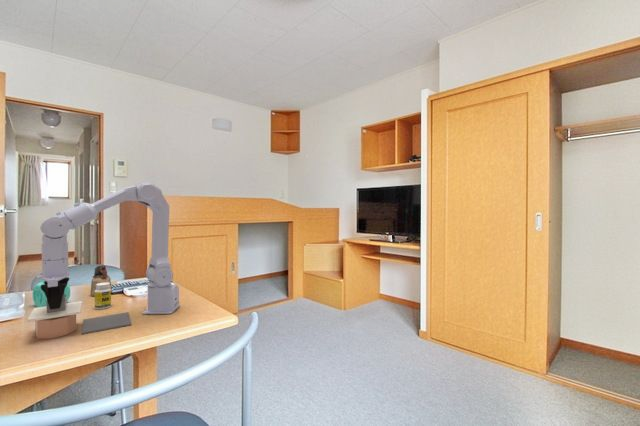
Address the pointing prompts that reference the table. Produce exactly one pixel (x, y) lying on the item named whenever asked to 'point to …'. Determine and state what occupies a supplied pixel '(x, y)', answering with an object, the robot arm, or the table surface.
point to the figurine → (99, 278)
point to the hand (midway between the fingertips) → (56, 306)
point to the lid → (55, 310)
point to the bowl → (55, 327)
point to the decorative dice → (41, 298)
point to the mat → (105, 323)
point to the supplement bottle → (102, 296)
